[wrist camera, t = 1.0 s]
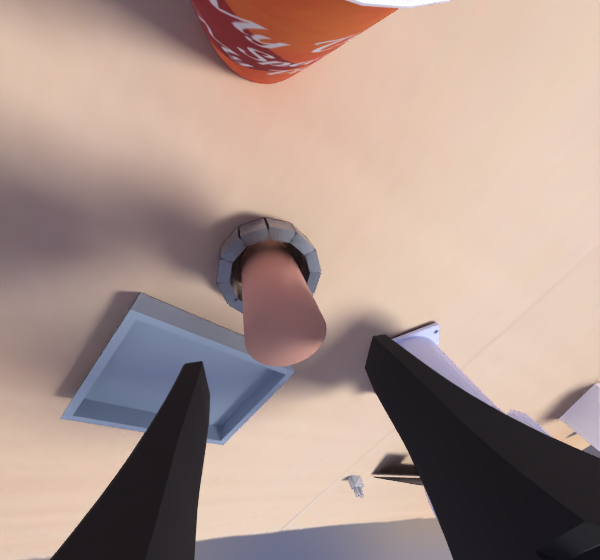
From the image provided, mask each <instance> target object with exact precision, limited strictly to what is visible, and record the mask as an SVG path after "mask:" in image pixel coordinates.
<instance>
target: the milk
mask: <svg viewBox="0 0 600 560" xmlns="http://www.w3.org/2000/svg"><path fill="white" fill-rule="evenodd" d="M559 419H560V420H561V421H563V422H564V423H565V424H566V425H568V426H569V427H570V428H571V429H573V430H574V431H575V432H576V433H578V434H579V435H580V436H581V437H583V438H584V439H585V440H586V441H588V442H589V443H590V444H591V445H592V446H594V447H595V448H596V449H598V450H599V451H600V383H596V384H594V385H593V386H592V387H591V388H590V389H589V390H588V391H587V392H586V393H585V394H584V395H583V396H582V397H581V398H580V399H579V400H578V401H577V402H575V403H574V404H573V405H572V406H571V407H570V408H569V409H568V410H567V411H566V412H565V413H564V414H563V415H562V416H561V417H560V418H559Z"/></svg>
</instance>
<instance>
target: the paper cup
mask: <svg viewBox="0 0 600 560" xmlns="http://www.w3.org/2000/svg"><path fill="white" fill-rule="evenodd" d="M190 1H191V3H192V5H193V7H194V9H195V11H196V14H197V16H198V18H199V20H200V22H201V24H202V26H203V28H204V30H205V32H206V34H207V36H208V38H209V40H210V42H211V44H212V45H213V47H214V49H215V50H216V52H217V53H218V55H219V56H220V57H221V59H222V60H223V61H224V62H225V63H226V64H227V65H228V66H229V67H230V68H231V69H232V70H233V71H234V72H236V73H237V74H238V75H240V76H241V77H243V78H245V79H247V80H249V81H252V82H256V83H261V84H272V83H277V82H280V81H283V80H285V79H287V78H289V77H291V76H293V75H295V74H296V73H298V72H300V71H301V70H303V69H305V68H306V67H308V66H310V65H311V64H313V63H315V62H316V61H318V60H319V59H321V58H322V57H324V56H326V55H327V54H329V53H330V52H332V51H334V50H335V49H337V48H338V47H340V46H341V45H343V44H345V43H346V42H348V41H349V40H351V39H352V38H354V37H355V36H357V35H359V34H360V33H362V32H363V31H365V30H366V29H368V28H370V27H371V26H373V25H374V24H376V23H377V22H379V21H380V20H382V19H384V18H385V17H387V16H388V15H390V14H391V13H393V12H395V11H396V10H398V9H399V8H401V9H409V8H414V7H420V6H426V5H432V4H438V3H443V2H449V1H451V0H190Z"/></svg>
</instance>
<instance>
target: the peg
mask: <svg viewBox="0 0 600 560" xmlns="http://www.w3.org/2000/svg"><path fill="white" fill-rule="evenodd" d="M241 280H242V299H243V319H244V338H245V347H246V350H247V352H248V353H249V355H250V356H251V357H252V358H253V359H254V360H256V361H257V362H259V363H261V364H264V365H268V366H276V367H281V366H289V365H293V364H296V363H299V362H301V361H303V360H305V359H307V358H308V357H310V356H311V355H312V354H314V353H315V352H316V351H317V350H318V349H319V347H320V346H321V345H322V343H323V341H324V339H325V336H326V323H325V320H324V318H323V316H322V314H321V312H320V310H319V308H318V306H317V304H316V302H315V300H314V298H313V296H312V294H311V292H310V290H309V288H308V286H307V284H306V282H305V280H304V278H303V276H302V274H301V272H300V270H299V268H298V265H297V263H296V261H295V259H294V257H293V255H292V253H291V252H290V250H289V249H288V248H287V247H286V246H285V245H284V244H282V243H281V242H278V241H275V240H265V241H262V242H259V243H256V244H253V245H251V246H249V247H248V248H247V249H246V251H245V252H244V254H243V256H242V259H241Z"/></svg>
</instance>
